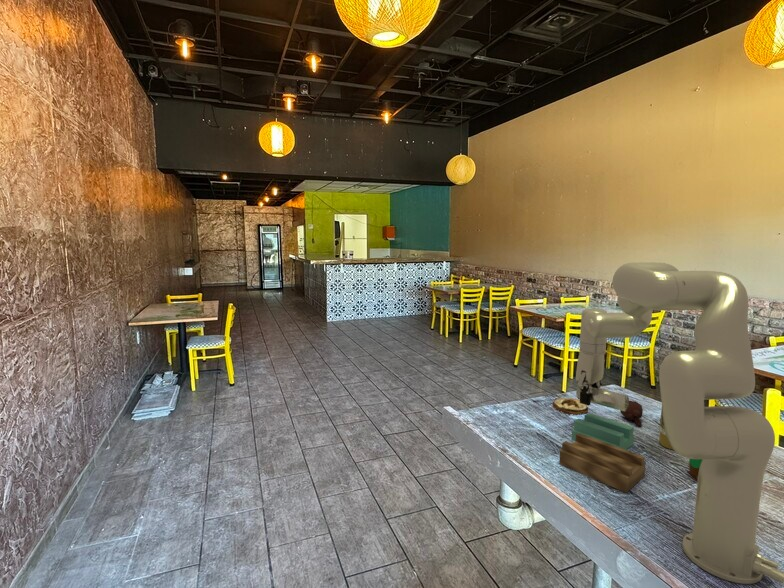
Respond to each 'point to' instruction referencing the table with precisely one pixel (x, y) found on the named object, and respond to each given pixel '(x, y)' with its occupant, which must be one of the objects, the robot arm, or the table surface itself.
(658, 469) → the table surface
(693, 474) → the food container
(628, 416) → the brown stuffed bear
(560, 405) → the tan round flat disc
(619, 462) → the wooden channel block
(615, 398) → the axle
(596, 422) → the v block
